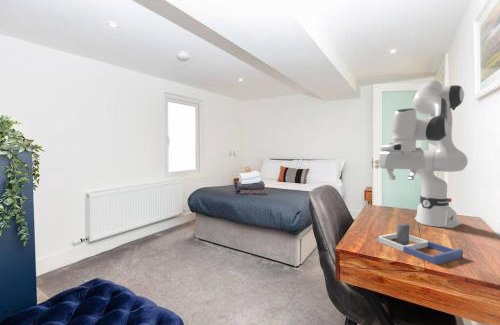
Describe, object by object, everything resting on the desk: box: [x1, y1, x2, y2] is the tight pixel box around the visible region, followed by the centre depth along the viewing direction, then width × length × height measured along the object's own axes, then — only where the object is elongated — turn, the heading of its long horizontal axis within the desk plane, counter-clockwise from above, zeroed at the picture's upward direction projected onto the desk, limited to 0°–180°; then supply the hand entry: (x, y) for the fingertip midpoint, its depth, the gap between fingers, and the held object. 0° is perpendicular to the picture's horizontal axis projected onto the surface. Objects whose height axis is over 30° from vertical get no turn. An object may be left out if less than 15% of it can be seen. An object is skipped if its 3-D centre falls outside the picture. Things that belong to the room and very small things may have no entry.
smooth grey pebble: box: [395, 222, 410, 246], centre depth 106 cm, size 4×4×8 cm
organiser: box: [376, 232, 464, 265], centre depth 101 cm, size 15×24×3 cm, turn 23°
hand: (401, 179), depth 107 cm, fingers open, 8 cm apart
